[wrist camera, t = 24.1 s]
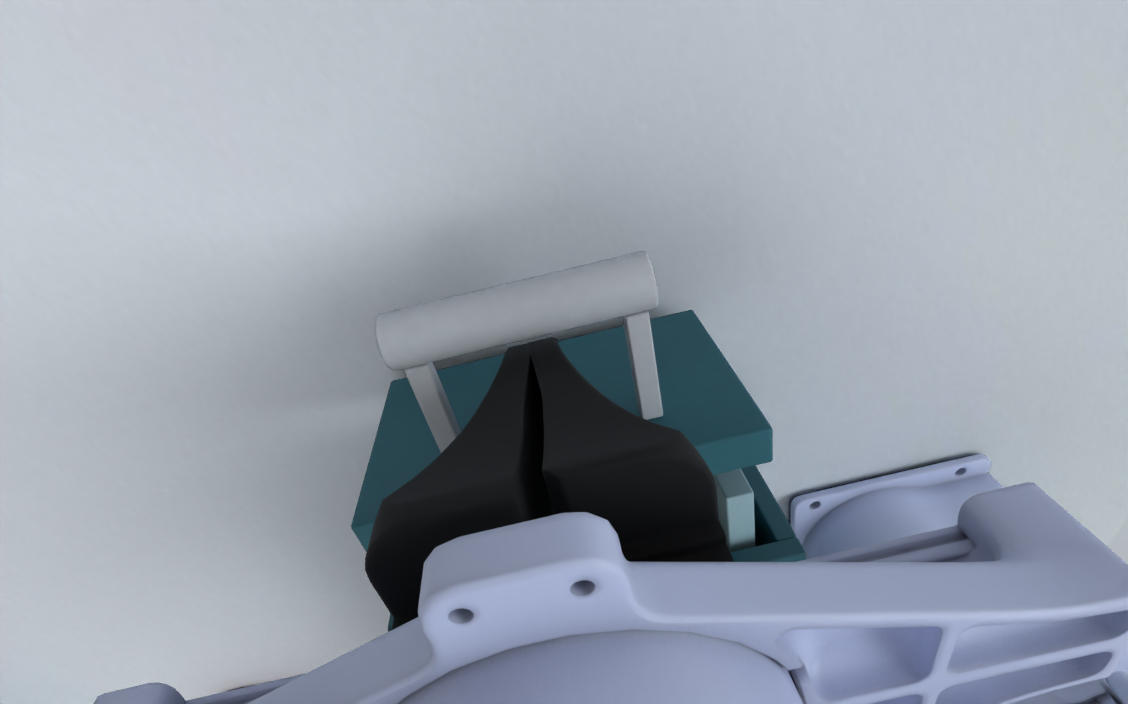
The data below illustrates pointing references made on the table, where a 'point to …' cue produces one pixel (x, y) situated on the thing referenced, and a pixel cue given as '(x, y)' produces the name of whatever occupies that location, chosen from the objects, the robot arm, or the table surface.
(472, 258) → the table surface
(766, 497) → the teal drawer cabinet
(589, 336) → the drawer
